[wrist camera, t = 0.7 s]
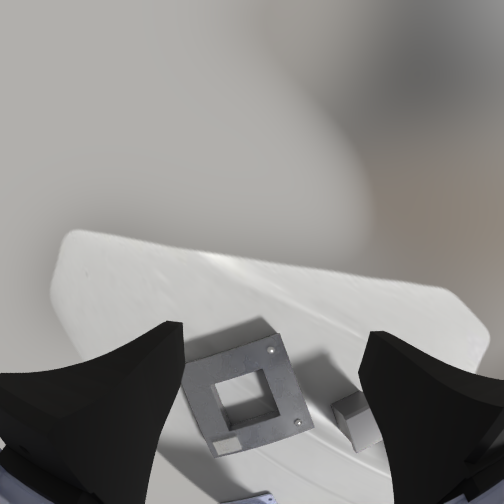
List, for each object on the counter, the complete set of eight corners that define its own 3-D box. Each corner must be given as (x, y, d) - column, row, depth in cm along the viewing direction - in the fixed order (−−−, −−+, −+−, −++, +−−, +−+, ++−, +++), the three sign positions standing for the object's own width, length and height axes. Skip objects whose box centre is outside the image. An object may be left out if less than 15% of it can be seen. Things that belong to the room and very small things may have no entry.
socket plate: (310, 420, 28) (315, 428, 25) (216, 449, 27) (213, 459, 24) (277, 333, 31) (279, 333, 28) (181, 364, 30) (174, 367, 27)
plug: (370, 416, 27) (394, 432, 21) (338, 432, 27) (356, 453, 20) (361, 387, 29) (385, 399, 22) (327, 403, 28) (345, 420, 22)
